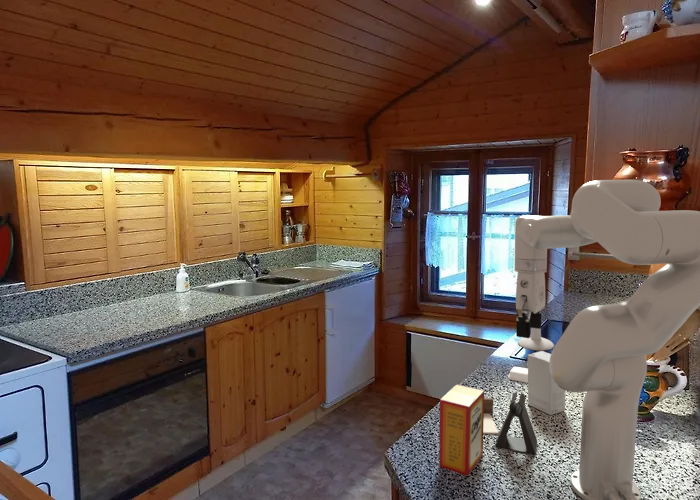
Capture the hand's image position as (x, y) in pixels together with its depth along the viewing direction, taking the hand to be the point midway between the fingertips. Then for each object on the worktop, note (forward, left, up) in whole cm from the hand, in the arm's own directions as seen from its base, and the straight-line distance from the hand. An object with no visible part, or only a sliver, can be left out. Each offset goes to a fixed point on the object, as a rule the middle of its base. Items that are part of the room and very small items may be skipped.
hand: (529, 332), depth 125 cm
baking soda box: (-19, +19, -24) cm, 36 cm away
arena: (-1, +12, -24) cm, 27 cm away
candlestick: (+62, -21, -24) cm, 70 cm away
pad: (-1, +12, -24) cm, 27 cm away
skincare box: (+9, -8, -24) cm, 27 cm away
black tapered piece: (-11, +5, -24) cm, 27 cm away
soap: (+30, -8, -25) cm, 39 cm away
